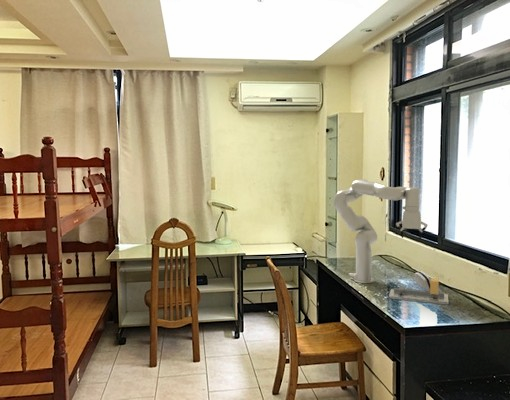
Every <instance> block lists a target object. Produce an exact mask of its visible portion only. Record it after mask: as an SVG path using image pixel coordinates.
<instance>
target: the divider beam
mask: <svg viewBox="0 0 510 400" xmlns="http://www.w3.org/2000/svg"><path fill="white" fill-rule="evenodd" d="M393 289H394V292H397V293H399V294H400V295H403V294H404V293H407V294H417V295H427V296H433V294H430V291H427V290H420V289H410V288H409V289H408V288H405V285H403V286H402V285H399V287H394V288H393ZM444 294H445V292H441V291H438V295H436V294H435V296H437V297H444Z"/></svg>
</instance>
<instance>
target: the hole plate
mask: <svg viewBox="0 0 510 400" xmlns="http://www.w3.org/2000/svg"><path fill="white" fill-rule="evenodd" d="M388 299H392V300H400V301H410V302H411V301H412V302H419V303H429V304H438V305H448V306H449V304H450V303H449V295H448V293H444V297H437V296H435V298H433V296H427V295H417V294H407V293H404V294H403V295H400V294H399V293H397V292H394V288H391V289H390V292H389V295H388Z"/></svg>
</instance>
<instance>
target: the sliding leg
mask: <svg viewBox="0 0 510 400" xmlns="http://www.w3.org/2000/svg"><path fill="white" fill-rule="evenodd" d="M430 279H431V282H430V294H433V298H435V294H436V295H438V292H439V282H440V281H439V277H438V278H436V277H430Z"/></svg>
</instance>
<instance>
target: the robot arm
mask: <svg viewBox="0 0 510 400" xmlns="http://www.w3.org/2000/svg"><path fill="white" fill-rule="evenodd" d="M350 186H351V187H350V188H348V189H342V190H339V191H337V192H336V194H335V195H334V198H333V206H334V209H335V210H336V212H337V213H338V214H339V216H340V217H341V219H342V220H343V222H344V223H345V225H346V227H347V228H348V230H350V231H351V232H354V233H355V232H357V234H356V235H355V237H354V244H355V272H354V273H352V272H349V273H348V276H349V277H350V278H352V277H353V279H352V280H353V281H354V282H356V283H359V284H371V283H374V282H375V279H374V278H373V277H372V264H373V263H372V257H373V256H372V247H371V245H372V244H374V243H376V241H377V240H378V234H377V231H376V230H375V229H374V227H373V226H372V224H371V223H370V222H369V219H367V218H366V217H365V216H364V215H361V214H358V215H357V214H356V212H355V211H354V210H353V209H352V207H351V206H350V205H349V203H353V202H355V201H356V200H358V199H359V198H361V197H362V196H370V197H371V196H372V197H375V198H379V199H382V200H383V199H384V200H387V201H388V200H389V201H399V200H404V204H405V205H404V206H402V210H404V211H403V212H402V220H400V221H398V222H396V223H395V226H396V227H397V229H398V230H399V231H400V237H401V239H404V230H405V229H408V230H409V229H410V230H418V231H419V235H418V236H419V238H418V239H419V240H421V239H422V238H423V232H424V231H426V229H427V227H428V226H429V225H428V223H425V222H424V221H422V215H421V211H420V189H419V187H406V186H396V187H393V186H387V185H382V184H380V182H375V181H369V180H368V179H365V178H363V179H356V180H354V181H353V182H352V183H351V185H350ZM400 225H401V226H402V227H401V226H400ZM422 226H423V227H422Z"/></svg>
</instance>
